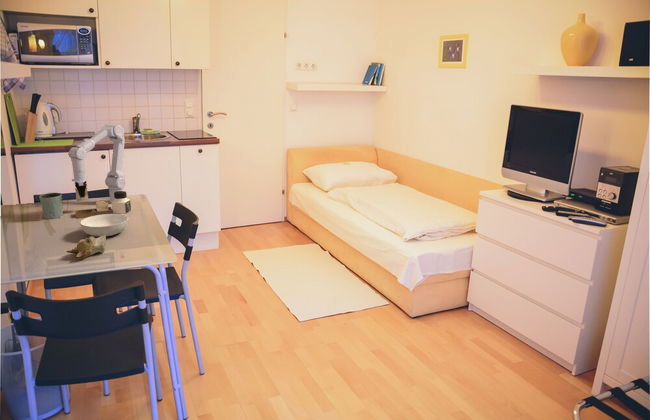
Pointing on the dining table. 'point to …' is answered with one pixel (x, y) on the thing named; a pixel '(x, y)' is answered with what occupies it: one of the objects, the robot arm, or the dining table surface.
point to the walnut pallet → (91, 213)
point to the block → (102, 206)
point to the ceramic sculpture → (89, 246)
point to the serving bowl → (104, 224)
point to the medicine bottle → (121, 203)
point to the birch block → (82, 197)
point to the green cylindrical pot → (52, 205)
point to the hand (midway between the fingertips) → (82, 196)
